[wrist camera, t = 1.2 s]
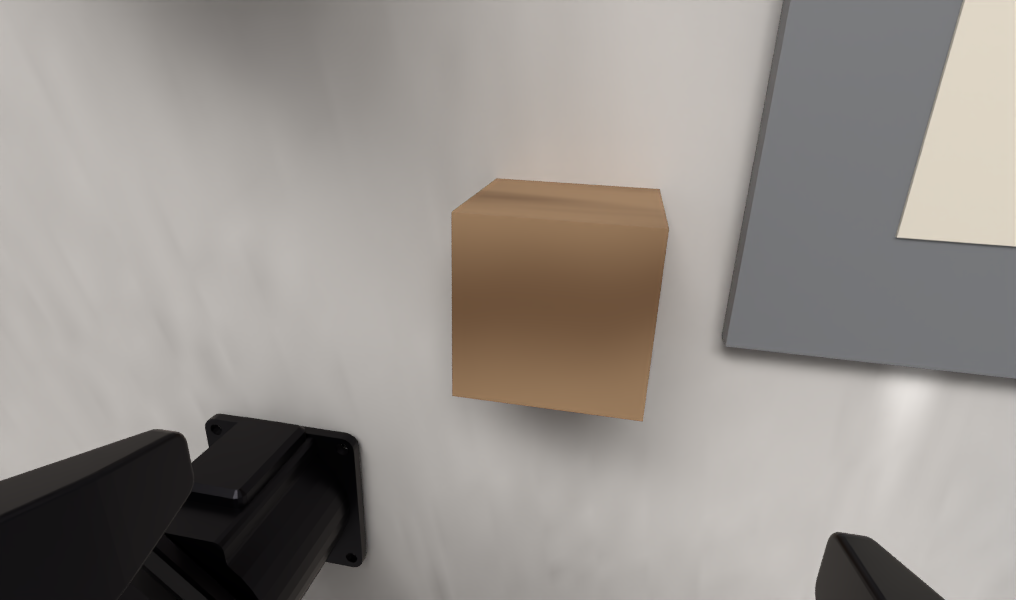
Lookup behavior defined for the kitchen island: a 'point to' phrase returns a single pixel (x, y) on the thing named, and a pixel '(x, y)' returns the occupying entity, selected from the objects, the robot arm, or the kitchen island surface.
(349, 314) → the kitchen island surface
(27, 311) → the kitchen island surface
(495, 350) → the walnut block
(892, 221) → the baseplate
